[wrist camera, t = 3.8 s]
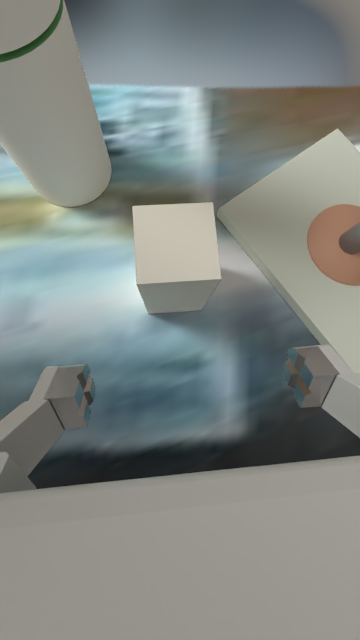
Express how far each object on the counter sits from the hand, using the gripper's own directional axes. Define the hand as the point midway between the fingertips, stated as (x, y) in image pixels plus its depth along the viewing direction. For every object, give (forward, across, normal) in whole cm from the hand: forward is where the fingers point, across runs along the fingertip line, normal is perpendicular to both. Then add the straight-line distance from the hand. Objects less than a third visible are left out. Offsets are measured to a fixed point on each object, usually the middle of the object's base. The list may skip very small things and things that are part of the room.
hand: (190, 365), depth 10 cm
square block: (+12, 0, +2) cm, 12 cm away
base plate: (+13, -15, +1) cm, 20 cm away
